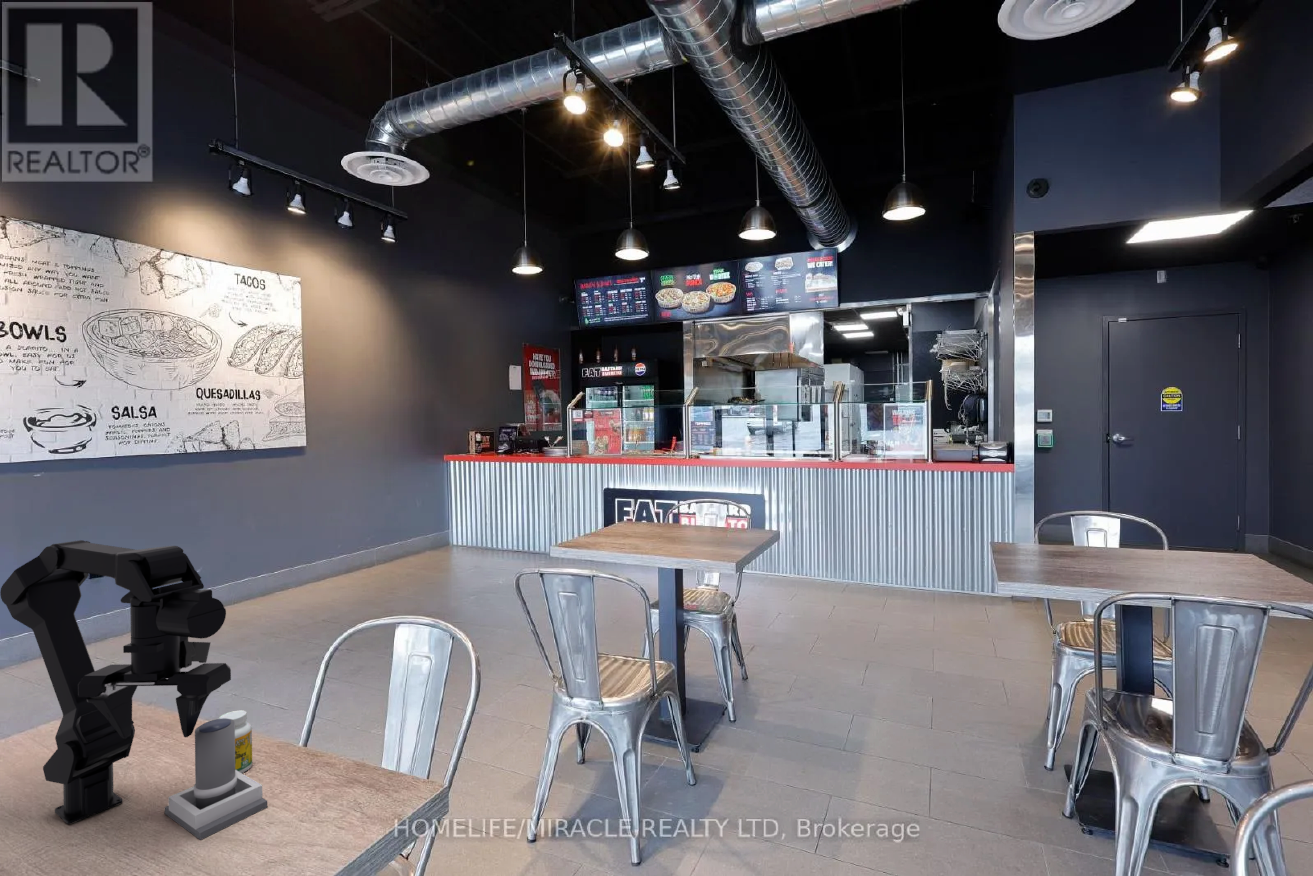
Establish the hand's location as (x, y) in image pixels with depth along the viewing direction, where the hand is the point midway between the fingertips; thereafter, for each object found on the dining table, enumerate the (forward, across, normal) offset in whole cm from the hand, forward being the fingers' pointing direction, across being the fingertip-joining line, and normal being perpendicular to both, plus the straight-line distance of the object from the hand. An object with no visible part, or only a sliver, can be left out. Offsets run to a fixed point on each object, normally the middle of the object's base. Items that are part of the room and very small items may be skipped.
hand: (157, 736), depth 91 cm
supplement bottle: (+13, -1, -14) cm, 20 cm away
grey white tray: (+13, -6, -3) cm, 15 cm away
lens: (+12, -6, -3) cm, 14 cm away
